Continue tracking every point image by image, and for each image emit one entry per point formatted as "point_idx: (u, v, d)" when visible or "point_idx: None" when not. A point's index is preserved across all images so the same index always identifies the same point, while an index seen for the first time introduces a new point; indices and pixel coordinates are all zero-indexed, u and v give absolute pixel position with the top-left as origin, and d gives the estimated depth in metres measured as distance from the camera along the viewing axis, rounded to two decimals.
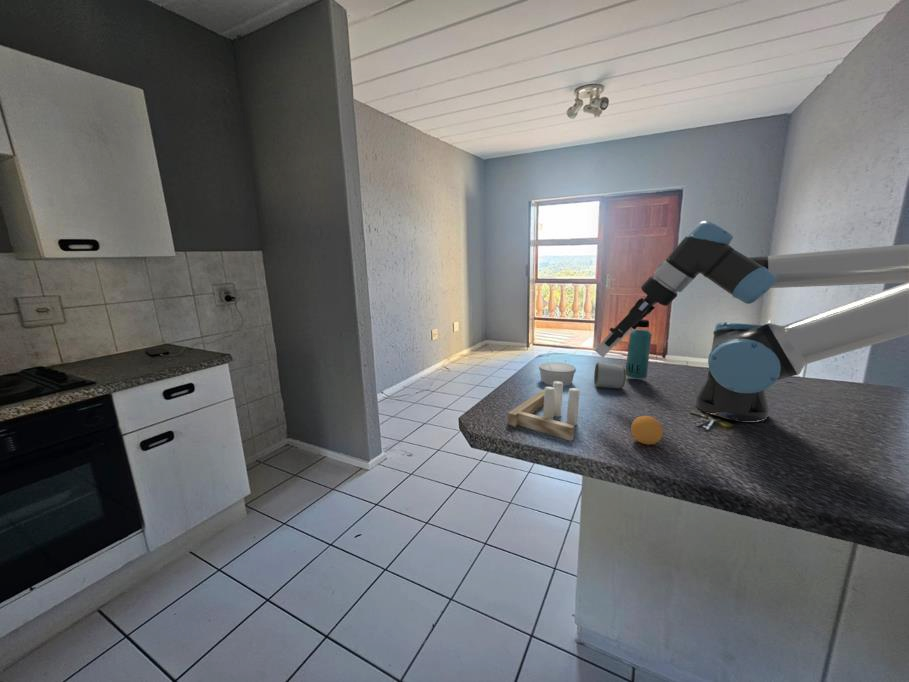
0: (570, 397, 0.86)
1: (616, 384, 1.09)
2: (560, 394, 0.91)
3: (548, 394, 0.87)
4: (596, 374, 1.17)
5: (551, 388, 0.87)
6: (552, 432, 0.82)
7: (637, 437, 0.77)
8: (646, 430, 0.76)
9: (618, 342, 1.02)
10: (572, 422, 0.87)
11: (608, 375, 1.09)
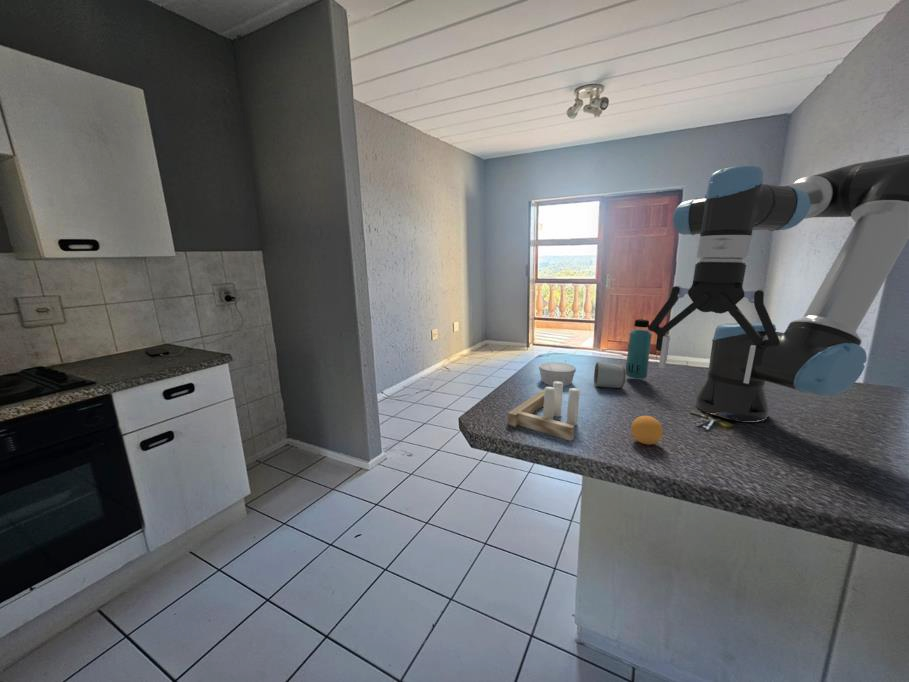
0: (570, 397, 0.86)
1: (616, 383, 1.09)
2: (560, 394, 0.91)
3: (548, 394, 0.87)
4: (596, 374, 1.17)
5: (551, 388, 0.87)
6: (552, 432, 0.82)
7: (637, 437, 0.77)
8: (646, 430, 0.76)
9: (666, 359, 0.75)
10: (572, 422, 0.87)
11: (608, 375, 1.09)
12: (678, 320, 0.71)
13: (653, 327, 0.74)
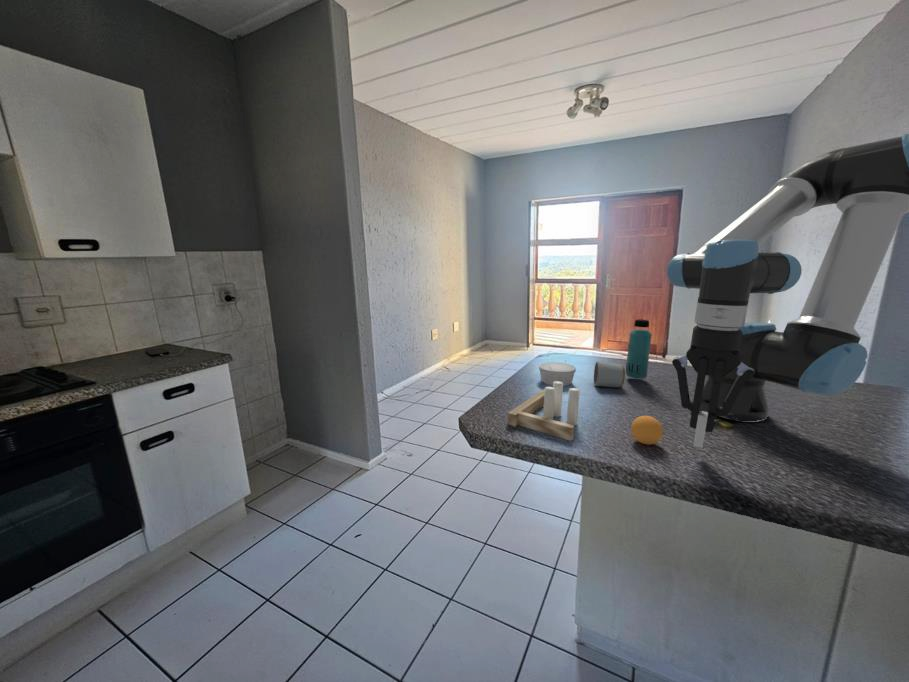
0: (570, 397, 0.86)
1: (615, 383, 1.10)
2: (560, 394, 0.91)
3: (548, 394, 0.87)
4: (596, 373, 1.17)
5: (551, 388, 0.87)
6: (552, 432, 0.82)
7: (637, 437, 0.77)
8: (646, 430, 0.76)
9: None
10: (572, 422, 0.87)
11: (607, 374, 1.10)
12: (700, 392, 0.70)
13: (686, 403, 0.71)
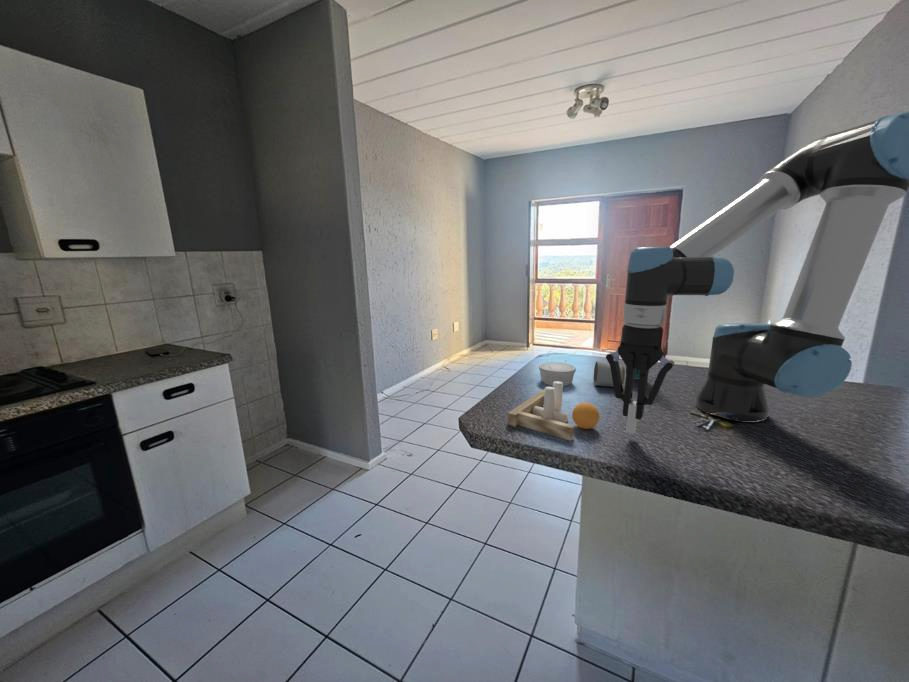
0: (538, 414, 0.92)
1: None
2: (560, 394, 0.91)
3: (548, 394, 0.87)
4: (595, 373, 1.18)
5: (551, 388, 0.87)
6: (552, 432, 0.82)
7: (583, 412, 0.83)
8: (583, 424, 0.83)
9: None
10: (562, 417, 0.88)
11: (607, 374, 1.10)
12: (629, 383, 0.77)
13: (618, 394, 0.79)
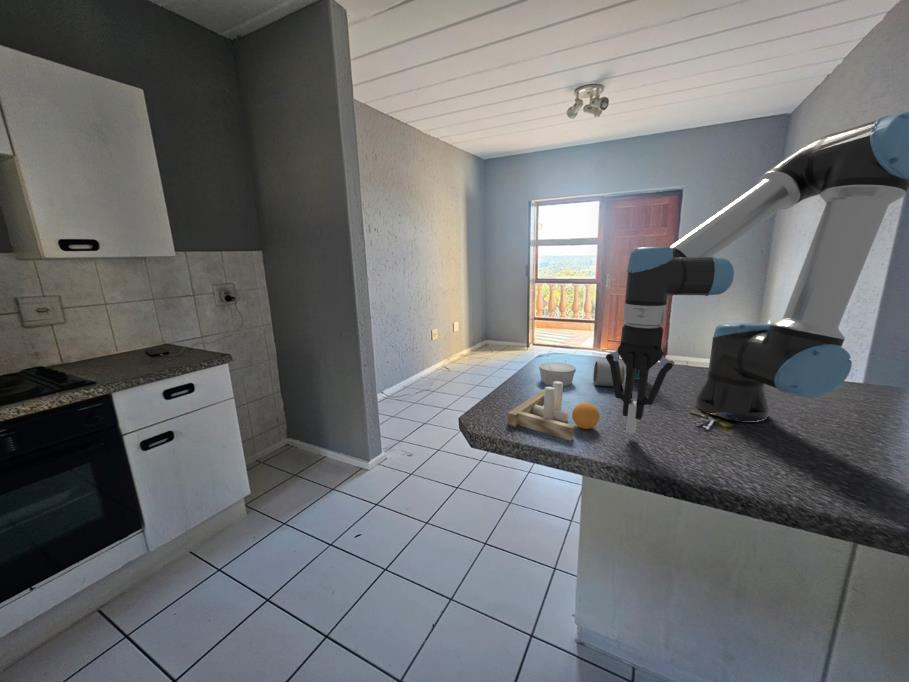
0: (538, 413, 0.92)
1: None
2: (560, 394, 0.91)
3: (548, 394, 0.87)
4: (595, 372, 1.18)
5: (551, 388, 0.87)
6: (552, 432, 0.82)
7: (583, 412, 0.83)
8: (583, 424, 0.83)
9: None
10: (562, 415, 0.88)
11: (607, 373, 1.11)
12: (629, 383, 0.77)
13: (618, 394, 0.79)
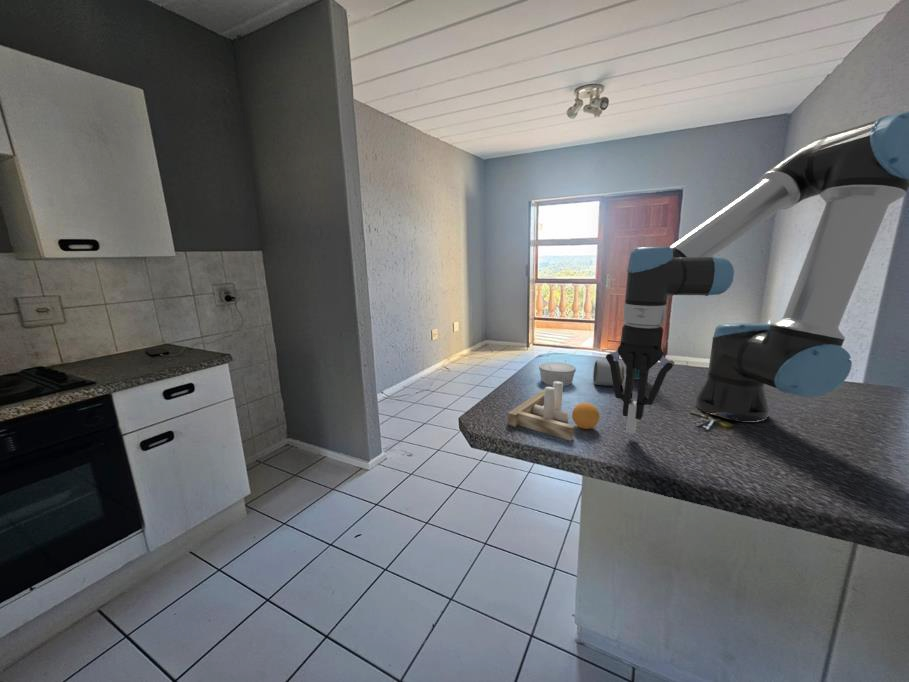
0: (538, 413, 0.92)
1: None
2: (560, 394, 0.91)
3: (548, 394, 0.87)
4: (595, 372, 1.19)
5: (551, 388, 0.87)
6: (552, 432, 0.82)
7: (583, 412, 0.83)
8: (583, 424, 0.83)
9: None
10: (562, 415, 0.88)
11: (607, 373, 1.11)
12: (629, 383, 0.77)
13: (618, 394, 0.79)
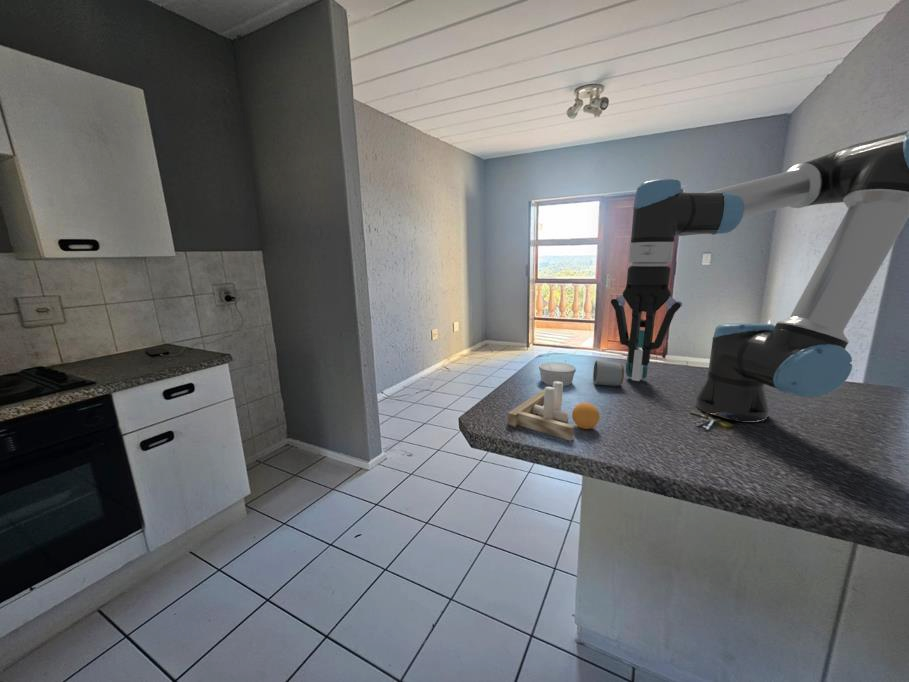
0: (538, 413, 0.92)
1: (614, 381, 1.11)
2: (560, 394, 0.91)
3: (548, 394, 0.87)
4: (595, 372, 1.19)
5: (551, 388, 0.87)
6: (552, 432, 0.82)
7: (583, 412, 0.83)
8: (583, 424, 0.83)
9: None
10: (562, 415, 0.88)
11: (606, 373, 1.11)
12: (635, 327, 0.75)
13: (624, 340, 0.77)
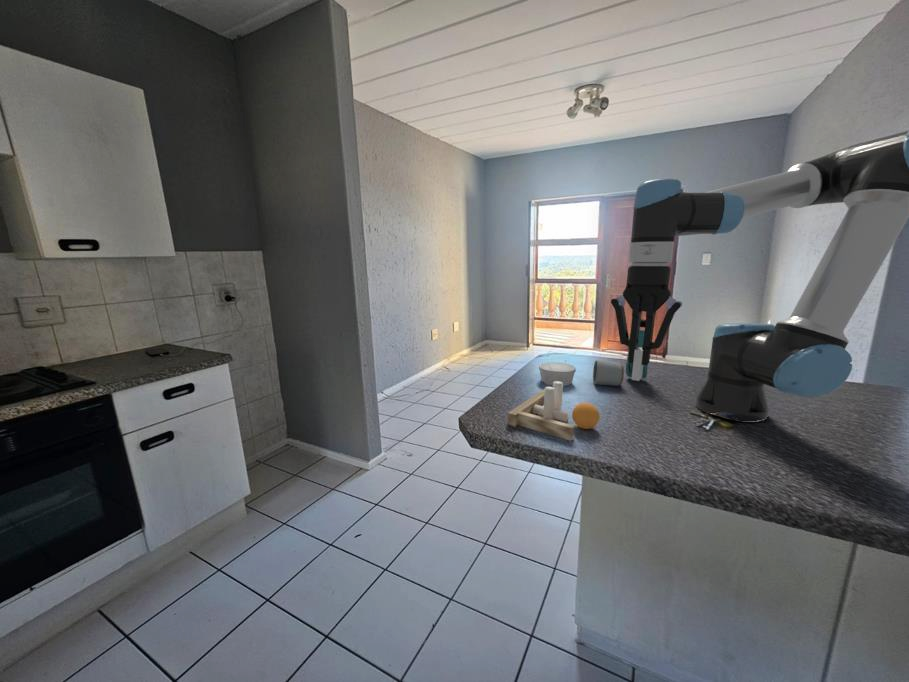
0: (538, 413, 0.92)
1: (614, 381, 1.12)
2: (560, 394, 0.91)
3: (548, 394, 0.87)
4: (595, 372, 1.19)
5: (551, 388, 0.87)
6: (552, 432, 0.82)
7: (583, 412, 0.83)
8: (583, 424, 0.83)
9: None
10: (562, 415, 0.88)
11: (606, 372, 1.12)
12: (635, 327, 0.75)
13: (624, 339, 0.77)
